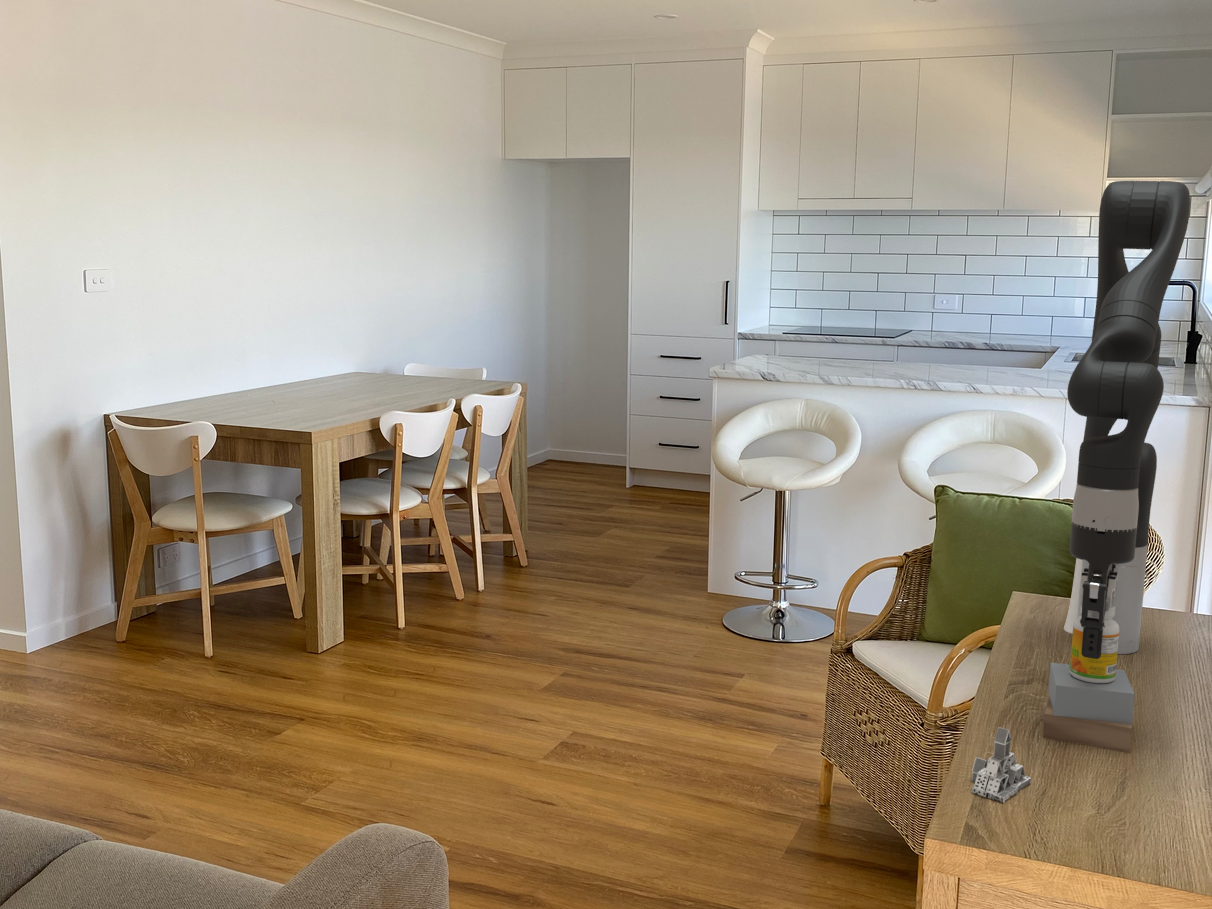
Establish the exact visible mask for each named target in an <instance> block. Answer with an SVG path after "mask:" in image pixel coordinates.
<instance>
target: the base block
mask: <svg viewBox="0 0 1212 909" xmlns="http://www.w3.org/2000/svg"><path fill="white" fill-rule="evenodd" d="M1044 711H1045V712H1044V719H1043V733H1042V737H1043V739H1044V738H1046V739H1051V740H1055V741H1056V740H1057V741H1062V742H1066V741H1067V743H1072V742H1073V743H1072V744H1078V745H1084V746H1090V747H1094V748H1100V749H1107V750H1112V751H1117V752H1123V753H1131V748H1132V747H1131V746H1132V745H1131V744H1132V735H1133V724H1132V725H1130V724H1122V723H1113V722H1105V721H1096V720H1088V719H1080V718H1071V717H1063V716H1054V714H1053V709H1052V705H1051V700H1050V696H1049V695H1048V699H1047V703H1046V708H1045V710H1044Z"/></svg>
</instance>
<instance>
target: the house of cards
mask: <svg viewBox="0 0 1212 909" xmlns="http://www.w3.org/2000/svg"><path fill="white" fill-rule="evenodd" d="M995 734H996V735H995V738H994V741H993V743H994V745H993V746H994V747H993V755H992V756H990V757H989V758H987V759H988V760H986V759H984V758H981V757H978V756H975V759H974V762H973V766H972V769H971V772H972V773H971V782H973V783H974V785H973V786H972V787H971V793H972V794H975V795H978V796H980V797H984V798H985V799H986V798H987V799H988V800H989V799H991V800H994V801H997V802H998V803H1003V804H1006V801H1007V800H1008V799H1010V798H1011V797H1013V796H1014V795H1018V792H1019V791H1021V790H1023V789H1024V788H1025V787H1026V786H1028V785H1031V780H1032V778H1031V777H1030V776H1027V775H1026V772H1025V769H1024V765H1021V764H1019V763H1017V760H1016V756H1015V753H1014V752H1011V742H1012V741H1013V739H1012V736H1011V735H1012V734H1011V731H1010V729H1007V728H1004V727H1001V726H998V727H997V730H996V733H995Z"/></svg>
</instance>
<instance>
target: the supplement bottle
mask: <svg viewBox="0 0 1212 909" xmlns="http://www.w3.org/2000/svg"><path fill="white" fill-rule="evenodd" d="M1081 613H1082V608H1081ZM1114 615H1115V605H1114V604H1113V603H1111V610H1110V612H1108V613H1106V615H1105V623H1104V624H1105V628H1104V630H1103V637H1102V649H1101V656H1100V658H1098V659H1094V658H1088V657H1084V656H1082V654H1081V652H1082V640H1083V627H1082V626H1081V623H1080V619H1081V616H1080V617H1078V618H1076V619H1075V621H1074V624H1073V634H1072V638H1071V650H1070V660H1069V664H1070V674H1071V675H1072V676H1073V677H1075V678H1077V679H1079V680H1082V681H1086V682H1090V683H1109V682H1112V681H1114V679H1115V675H1116V669H1117V662H1118V654H1117V652H1118V641H1119V625H1118V624H1117V623H1116V622H1115V621H1114V620H1112V618H1113V617H1114ZM1088 617H1089V618H1096V619H1099V612H1097V611H1091V610H1090V611H1089V612H1088Z"/></svg>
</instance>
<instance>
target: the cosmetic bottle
mask: <svg viewBox="0 0 1212 909" xmlns="http://www.w3.org/2000/svg"><path fill="white" fill-rule="evenodd" d="M1075 559H1076V560H1075V565H1074V575H1073V582H1072V590H1071V596H1070V601H1069V607H1068V612H1067V616H1066V620H1065V623H1064V627H1063V630H1064V631H1065V632H1067V633H1068V634H1072V635H1073V624H1074V621H1075V619H1076V618H1077V616H1078V603H1079V590H1080V582H1081V571H1082V560H1081V559H1078V558H1075Z"/></svg>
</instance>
